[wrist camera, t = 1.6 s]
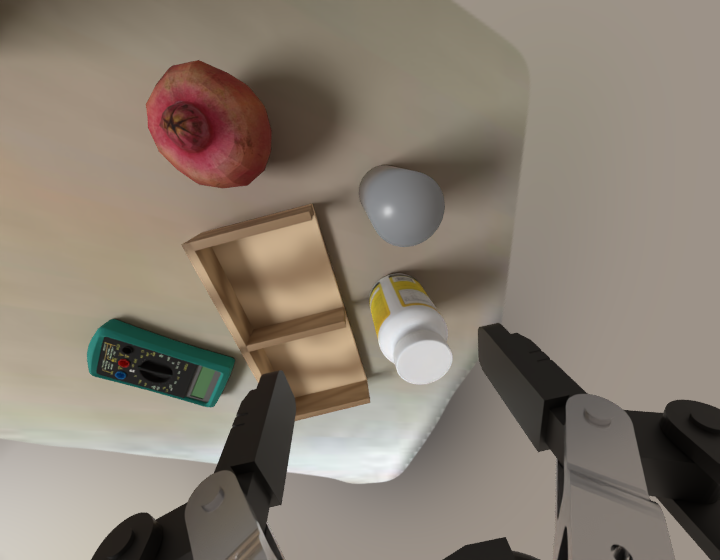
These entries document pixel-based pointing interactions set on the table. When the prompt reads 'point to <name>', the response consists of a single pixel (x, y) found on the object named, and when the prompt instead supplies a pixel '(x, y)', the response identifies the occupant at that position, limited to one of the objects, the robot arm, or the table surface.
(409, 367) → the pill bottle
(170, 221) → the table surface
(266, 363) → the divided wooden tray
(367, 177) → the grey cylinder
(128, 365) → the digital multimeter
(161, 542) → the robot arm
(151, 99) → the fruit
